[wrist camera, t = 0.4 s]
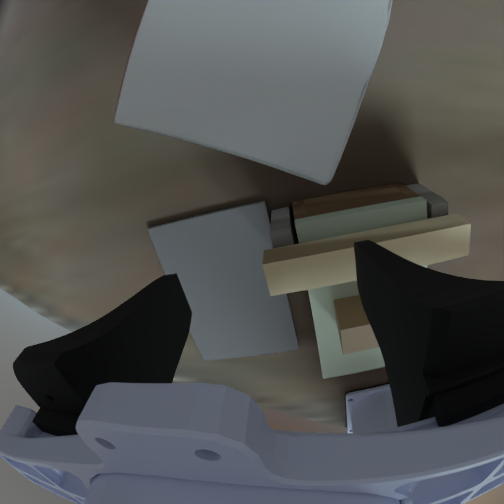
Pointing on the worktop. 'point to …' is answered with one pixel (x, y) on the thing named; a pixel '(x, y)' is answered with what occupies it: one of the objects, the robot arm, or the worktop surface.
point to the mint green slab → (350, 287)
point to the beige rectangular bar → (343, 256)
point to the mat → (227, 281)
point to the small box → (255, 76)
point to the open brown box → (349, 206)
